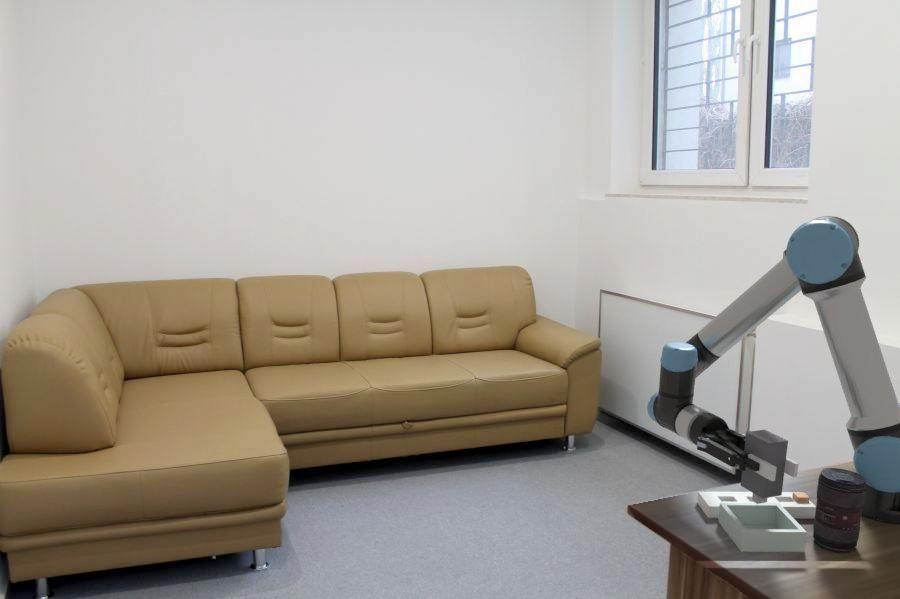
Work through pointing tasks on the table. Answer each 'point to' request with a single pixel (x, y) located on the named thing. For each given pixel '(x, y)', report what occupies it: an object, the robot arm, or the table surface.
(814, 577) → the table surface
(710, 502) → the strip
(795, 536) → the bin
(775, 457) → the tall grey pillar
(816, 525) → the camera lens
